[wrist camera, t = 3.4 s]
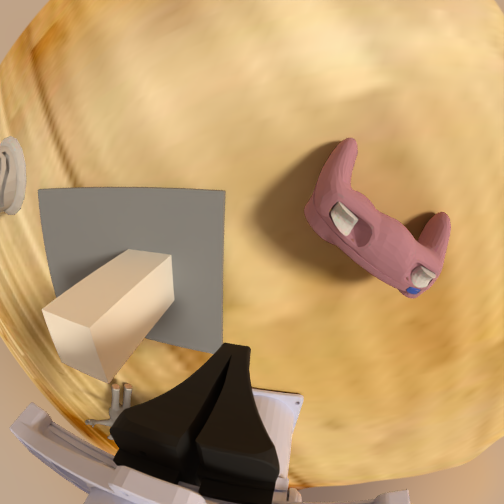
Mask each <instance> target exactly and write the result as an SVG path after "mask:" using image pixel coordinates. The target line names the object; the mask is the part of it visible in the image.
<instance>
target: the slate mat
mask: <svg viewBox="0 0 504 504" xmlns="http://www.w3.org/2000/svg"><path fill="white" fill-rule="evenodd" d="M38 198H39V209H40V217H41V225H42V232H43V239H44V245H45V250H46V255H47V260H48V265H49V270H50V274H51V279H52V283H53V287H54V291H55V294H56V298H57V297H59V296H60V295H61V294H63V293H64V292H66V291H67V290H68V289H70V288H71V287H73V286H74V285H75V284H77V283H78V282H80V281H81V280H83V279H84V278H85V277H87V276H88V275H90V274H91V273H93V272H94V271H96V270H97V269H99V268H100V267H102V266H103V265H105V264H106V263H108V262H109V261H111V260H112V259H114V258H115V257H117V256H118V255H120V254H122V253H123V252H125V251H126V250H128V249H132V250H139V251H147V252H154V253H162V254H169V255H171V258H172V274H173V288H174V302H173V303H172V304H171V305H170V306H169V308H168V309H167V310H166V311H165V313H164V314H163V315H162V316H161V318H160V319H159V320H158V321H157V323H156V324H155V325H154V326H153V328H152V329H151V330H150V331H149V333H148V334H147V335H146V336H145V338H147V339H151V340H155V341H159V342H162V343H167V344H171V345H175V346H179V347H184V348H188V349H193V350H197V351H202V352H207V353H212V354H214V353H215V352H216V351H217V350H218V349H219V348H220V347H221V345H222V344H223V251H224V214H225V191H223V190H206V189H185V188H155V187H81V188H53V189H39V190H38Z"/></svg>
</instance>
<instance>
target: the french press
mask: <svg viewBox="0 0 504 504" xmlns="http://www.w3.org/2000/svg"><path fill="white" fill-rule="evenodd" d="M25 187H26V165H25V160H24V155H23V151H22V148H21V146H20V144H19V142H18V140H17V139H16V138H14V137H12V136H9V137H7V138H5V139H4V140H3V141H2V142H1V144H0V212H3V211H4V212H6V213H7V214H8V215H15V214H16V213H17V212H18V211H19V210H20V209H21V206H22V203H23V200H24V197H25Z"/></svg>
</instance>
